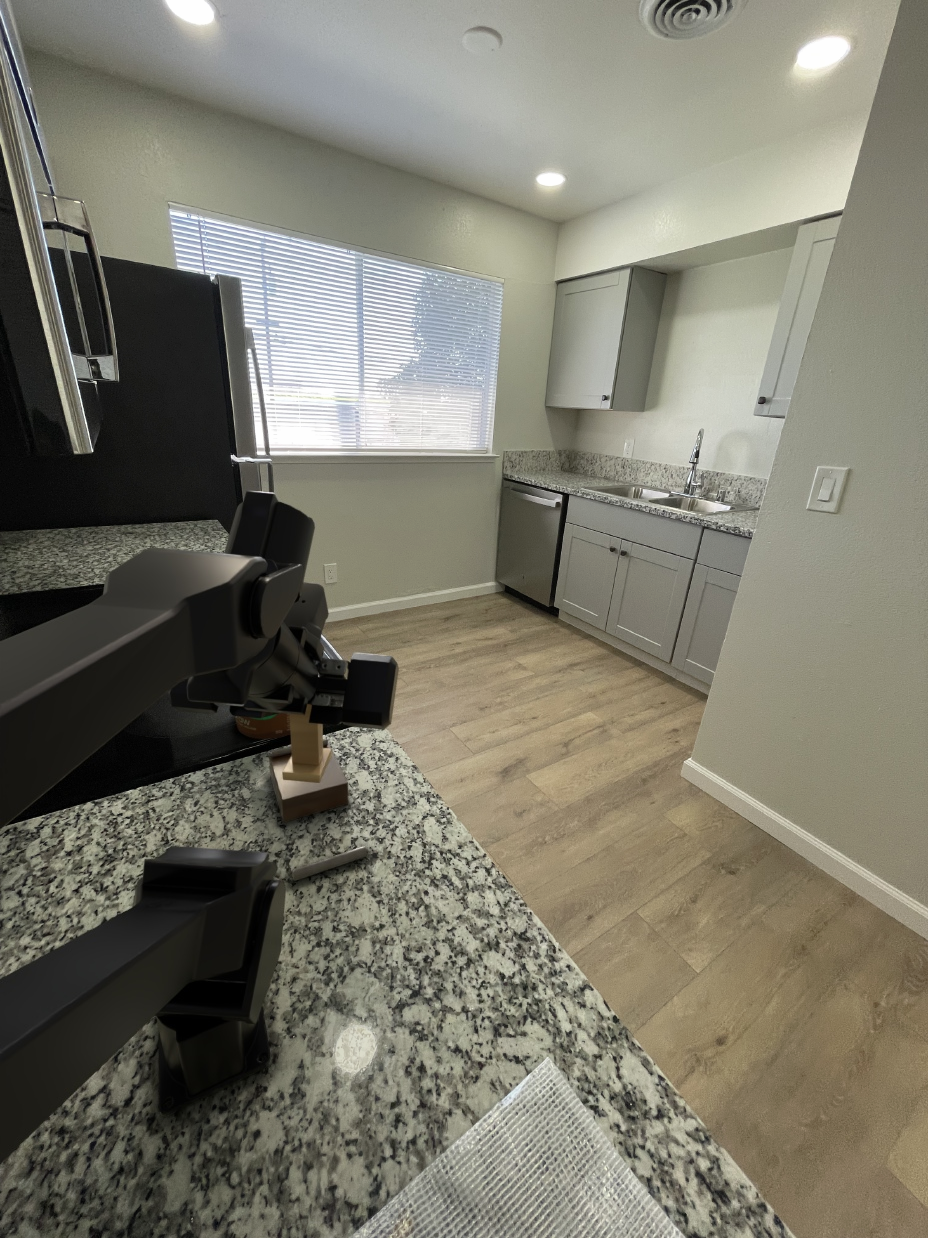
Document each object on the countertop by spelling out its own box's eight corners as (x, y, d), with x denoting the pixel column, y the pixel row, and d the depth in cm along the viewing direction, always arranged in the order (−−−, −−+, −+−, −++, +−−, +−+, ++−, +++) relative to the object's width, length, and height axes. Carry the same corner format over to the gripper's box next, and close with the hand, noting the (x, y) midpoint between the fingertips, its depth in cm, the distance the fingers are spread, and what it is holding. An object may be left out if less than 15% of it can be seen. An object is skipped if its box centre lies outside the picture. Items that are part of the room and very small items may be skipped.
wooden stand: (371, 857, 51) (372, 827, 49) (294, 883, 47) (292, 853, 46) (329, 762, 63) (328, 736, 62) (265, 777, 60) (263, 750, 58)
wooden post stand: (320, 783, 51) (317, 698, 47) (282, 780, 51) (277, 694, 47) (332, 754, 56) (331, 674, 52) (297, 751, 55) (294, 671, 52)
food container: (205, 724, 68) (197, 657, 65) (243, 704, 74) (237, 641, 70) (272, 756, 63) (267, 686, 60) (307, 733, 69) (305, 667, 65)
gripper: (399, 572, 41) (411, 639, 55) (168, 550, 41) (239, 624, 55) (379, 709, 36) (397, 743, 51) (119, 685, 36) (211, 726, 51)
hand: (310, 705), depth 52 cm, fingers closed on wooden post stand, 3 cm apart
